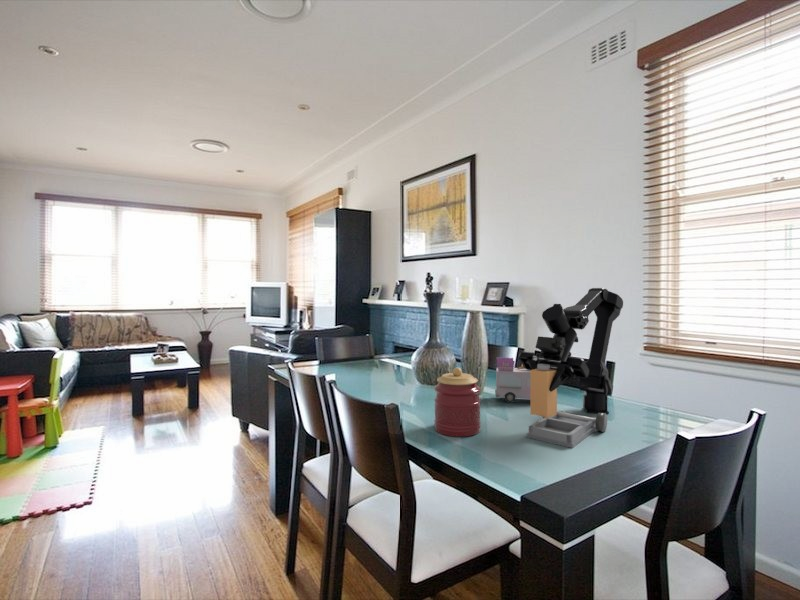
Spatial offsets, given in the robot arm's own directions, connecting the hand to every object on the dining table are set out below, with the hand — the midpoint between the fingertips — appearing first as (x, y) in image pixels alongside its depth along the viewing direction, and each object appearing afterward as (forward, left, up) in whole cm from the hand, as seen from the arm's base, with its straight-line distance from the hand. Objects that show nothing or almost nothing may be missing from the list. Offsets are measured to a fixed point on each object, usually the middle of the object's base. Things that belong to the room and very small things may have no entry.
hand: (541, 388), depth 115 cm
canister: (+22, +1, -13) cm, 26 cm away
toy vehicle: (+2, -35, -13) cm, 38 cm away
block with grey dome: (-1, -1, -7) cm, 7 cm away
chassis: (-7, -4, -12) cm, 14 cm away
